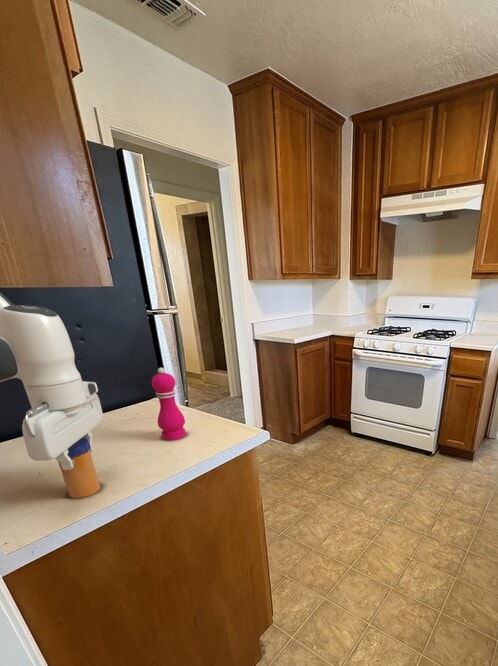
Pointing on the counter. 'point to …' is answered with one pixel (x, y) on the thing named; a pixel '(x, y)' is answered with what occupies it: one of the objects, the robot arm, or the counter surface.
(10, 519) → the counter surface
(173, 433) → the pepper mill
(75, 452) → the jar lid
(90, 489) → the jar
